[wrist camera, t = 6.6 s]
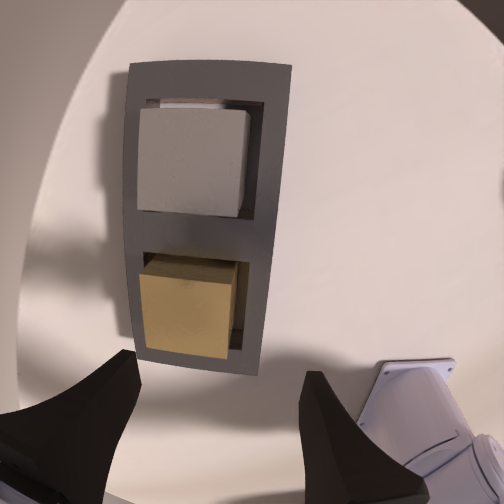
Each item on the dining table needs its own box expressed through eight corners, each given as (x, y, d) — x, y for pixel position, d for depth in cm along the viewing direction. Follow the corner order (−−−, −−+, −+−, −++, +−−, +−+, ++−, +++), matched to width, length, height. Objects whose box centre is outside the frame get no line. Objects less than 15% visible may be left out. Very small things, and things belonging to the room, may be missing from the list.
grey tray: (258, 355, 24) (257, 375, 21) (146, 340, 24) (137, 358, 22) (288, 73, 16) (292, 65, 14) (144, 70, 17) (129, 63, 14)
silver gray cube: (244, 197, 19) (237, 217, 15) (167, 191, 20) (137, 209, 15) (251, 117, 18) (245, 110, 13) (170, 114, 18) (140, 108, 13)
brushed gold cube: (239, 250, 21) (231, 284, 16) (234, 314, 23) (226, 359, 18) (166, 243, 21) (139, 274, 16) (167, 306, 23) (146, 347, 18)
